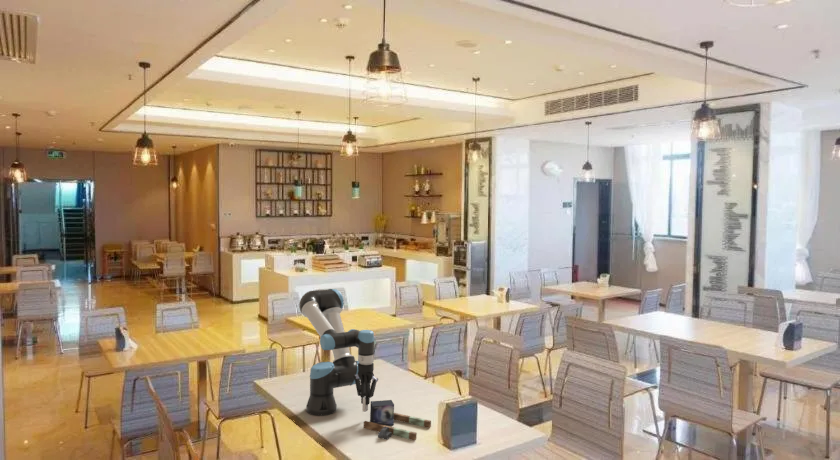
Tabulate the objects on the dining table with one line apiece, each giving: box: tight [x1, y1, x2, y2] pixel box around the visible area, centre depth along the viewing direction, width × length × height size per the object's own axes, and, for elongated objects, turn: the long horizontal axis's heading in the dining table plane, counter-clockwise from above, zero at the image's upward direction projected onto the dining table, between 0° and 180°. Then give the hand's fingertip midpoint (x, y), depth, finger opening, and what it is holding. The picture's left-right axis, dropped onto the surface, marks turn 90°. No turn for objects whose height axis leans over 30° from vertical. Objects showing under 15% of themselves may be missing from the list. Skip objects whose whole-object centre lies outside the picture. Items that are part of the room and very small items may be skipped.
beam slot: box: [362, 412, 432, 441], centre depth 273 cm, size 27×17×3 cm, turn 64°
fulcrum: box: [377, 426, 393, 440], centre depth 262 cm, size 5×4×4 cm
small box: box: [369, 399, 395, 427], centre depth 277 cm, size 11×6×10 cm, turn 105°
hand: (365, 410), depth 280 cm, fingers closed
